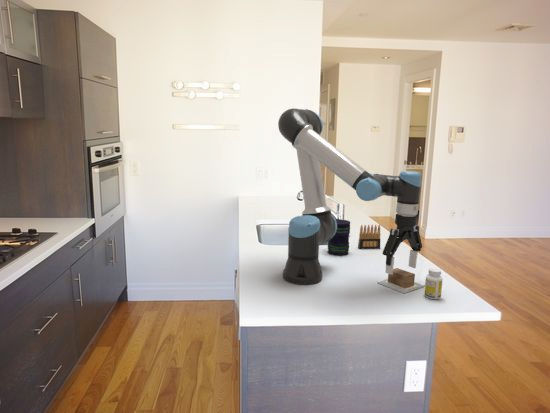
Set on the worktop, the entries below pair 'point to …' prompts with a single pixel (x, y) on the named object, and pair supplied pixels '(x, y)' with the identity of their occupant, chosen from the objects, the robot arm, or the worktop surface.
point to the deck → (401, 278)
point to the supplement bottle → (433, 284)
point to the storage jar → (340, 239)
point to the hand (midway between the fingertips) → (400, 270)
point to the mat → (401, 289)
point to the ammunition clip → (369, 238)
